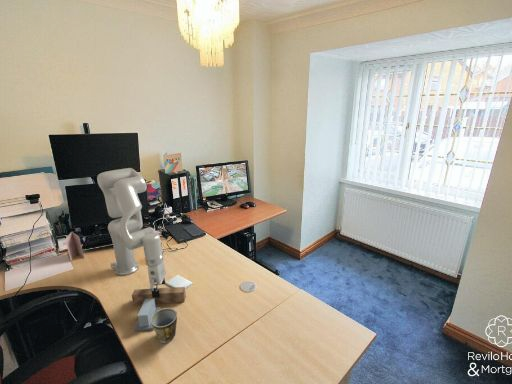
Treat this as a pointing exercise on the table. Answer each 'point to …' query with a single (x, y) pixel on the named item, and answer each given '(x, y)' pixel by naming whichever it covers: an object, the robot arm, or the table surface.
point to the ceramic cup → (165, 324)
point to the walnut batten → (165, 295)
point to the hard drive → (179, 282)
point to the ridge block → (146, 315)
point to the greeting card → (74, 245)
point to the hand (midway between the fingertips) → (159, 290)
